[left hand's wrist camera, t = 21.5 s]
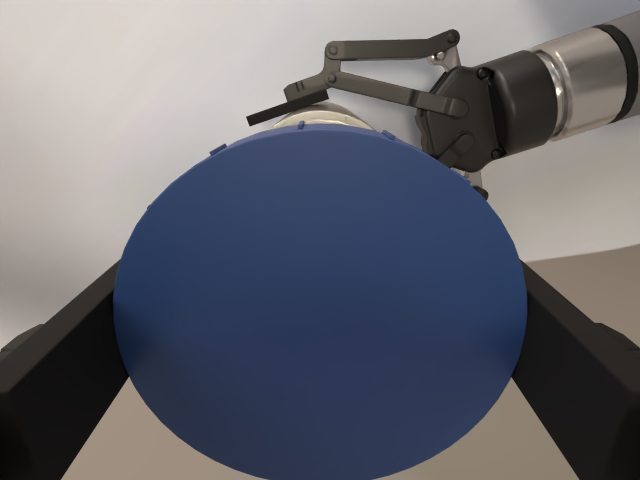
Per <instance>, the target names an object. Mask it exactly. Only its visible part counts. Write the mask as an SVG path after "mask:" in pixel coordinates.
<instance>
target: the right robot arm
mask: <svg viewBox="0 0 640 480" xmlns="http://www.w3.org/2000/svg"><path fill="white" fill-rule="evenodd" d="M459 40H460V35H459V33H458V31H456V30H454V29H452V30H448V31H446V32H443V33H441V34H438V35H436V36H434V37H431V38H429V39H411V40H365V41H332V42H329V43H328V44H327V45H326V48H325V61H324V69H323V70H322V72H321V73H320V74H318V75H315V76H312V77H309V78H307V79H304V80H301V81H298V82H296V83H293V84H290V85H288V86H287V87H286V88H285V89H284V93H285V96H286V99H287V103H284V104H281V105H278V106H275V107H272V108H270V109H267V110H264V111H261V112H258V113H255V114H253V115H250V116H247V117H246V118H247V121H248V123H249V126H252V125H255V124H258V123H261V122H264V121H267V120H270V119H272V118H275V117H278V116H281V115H284V114H287V113H290V112H293V111H295V110H298V109H301V108H304V107H307V106H310V105H313V104H315V103H318V102H321V101H324V100H327V99H329V97H328V94H327V91H326V89H328V88H331V87H332V88H336V89H341V90H345V91H349V92H353V93H357V94H361V95H365V96H370V97H374V98H378V99H382V100H386V101H390V102H395V103H399V104H403V105H407V106H411V107H415V108H418V109H417V113H416V115H415V119H416V123H417V126H418V128H419V130H420V131H421V145H422V149H423V152H425V153H426V154H428V155H429V156H431V157H433V158H434V159H436V160H438V161H439V162H441V163H442V164H443V165H445V166H446V167H448V168H449V169H450V168H451V167H453V168H456V169H459V170H462V171H465V174H464V176H463V177H465V178H467V179H468V180H469V181H470V182H471V183H470V185H471V186H472V187H473V188H474V189H475V190H476V191H477V192H478V193H479V194H480V195H481V196H482V197H484V199H485V200H487V199H488V192H487V191H486V190H484V189H483V188H482V181H481V173H480V170H481V169H482V168H483V167H484V166H486V165H487V164H488V163H489V162H491V161H493V160H496V159H500V158H503V157H506V156H509V155H513V154H516V153H519V152H522V151H525V150H528V149H532V148H535V147H538V146H541V145H543V144H545V143H546V142H547V141H548V140H549V141H558V140H561V139H564V138H567V137H570V136H573V135H576V134H579V133H582V132H585V131H588V130H591V129H594V128H597V127H600V126H603V125H606V124H610V123H613V122H617V121H619V120H622V119H626V118H629V117H632V116H636V115H639V114H640V10H639V11H637V12H634V13H631V14H628V15H626V16H623V17H620V18H618V19H615V20H612V21H609V22H607V23H604V24H601V25H596V26H593V27H589V28H586V29H583V30H581V31H578V32H575V33H572V34H569V35H566V36H563V37H560V38H557V39H554V40H551V41H548V42H545V43H542V44H539V45H537V46H535V47H533V48H532V49H531V50H530V51H526V50H522V51H519V52H516V53H513V54H510V55H507V56H504V57H501V58H499V59H496V60H493V61H490V62H487V63H484V64H481V65H478V66H475V67H465V66H461V63H460V59H459V55H458V51H457V46H456V45H457V44H458V43H459ZM425 57H427V60H428V62H429V63H430V64H431V65H441V66H442V67H443V68H444V70H445V72H444V73H443V74H442V76H441V77H440V78H439V80H438V81H437V82H436V83H435V85H434V86H433V87H432V89H431V90H430V91H429V93H428V92H424V91H420V90H415V89H410V88H406V87H402V86H398V85H394V84H390V83H386V82H381V81H377V80H373V79H369V78H365V77H361V76H357V75H353V74H349V73H345V72H341V71H340V62H341V61H374V60H414V59H421V58H425Z"/></svg>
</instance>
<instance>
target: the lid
mask: <svg viewBox="0 0 640 480" xmlns="http://www.w3.org/2000/svg"><path fill="white" fill-rule="evenodd" d="M210 154H211V156H209V157H208V158H206V159H205V160H203V161H201V162H200V163H198V164H196V165H195V166H193V167H192V168H191V169H189V170H188V171H187V172H186V173H184V174H183V175H182V176H180V177H179V178H178V179H176V180H175V181H174V182H172V183H171V184H170V185H169V186H168V187H167V188H166V189H165V190H164V191H163V192H162V193H161V194H160V195H159V196H158V197H157V198H156V199H155V201H154V202H153V203H152V204H150V205H149V206H148V207H147V211H146V212H145V213H144V215H143V216H142V218H141V219H140V220H139V222H138V223H137V225H136V226H135V228H134V230H133V232H132V234H131V236H130V238H129V240H128V242H127V244H126V246H125V248H124V251H123V254H122V258H121V261H120V264H119V267H118V270H117V274H116V281H115V288H114V295H113V322H114V328H115V333H116V338H117V343H118V347H119V351H120V354H121V358H122V361H123V364H124V366H125V368H126V371H127V373H128V375H129V377H130V379H131V381H132V383H133V385H134V387H135V388H136V390H137V391H138V393H139V394H140V396H141V397H142V399H143V400H144V402H145V403H146V405H147V406H148V407H149V408H150V409H151V411H152V412H153V413H154V414H155V415H156V416H157V417H158V419H159V420H160V421H161V422H162V423H163V424H164V425H165V426H166V427H167V428H169V429H170V430H171V431H172V432H173V433H174V434H175V435H176V436H177V437H179V438H180V439H181V440H183V441H184V442H186V443H187V444H188V445H190V446H191V447H193V448H194V449H195V450H197V451H199V452H200V453H202V454H204V455H206V456H207V457H209V458H211V459H213V460H214V461H216V462H219V463H221V464H223V465H225V466H228V467H230V468H232V469H235V470H237V471H240V472H243V473H246V474H249V475H252V476H255V477H259V478H264V479H268V480H373V479H377V478H381V477H385V476H389V475H392V474H395V473H397V472H400V471H403V470H406V469H409V468H411V467H413V466H415V465H417V464H420V463H422V462H424V461H426V460H428V459H430V458H432V457H434V456H435V455H437V454H438V453H440V452H442V451H443V450H445V449H447V448H448V447H450V446H451V445H453V444H454V443H455V442H456V441H458V440H459V439H460V438H462V437H463V436H464V435H465V434H467V433H468V432H469V431H470V430H471V429H472V428H473V427H474V426H475V425H476V424H477V423H478V422H479V421H480V420H481V419H482V418H483V417H484V416H485V415H486V414H487V412H488V411H489V410H490V409H491V408H492V406H493V405H494V404H495V403H496V401H497V400H498V399H499V397H500V395H501V394H502V392H503V390H504V389H505V387H506V386H507V384H508V382H509V381H510V378H511V376H512V374H513V372H514V369H515V367H516V365H517V362H518V360H519V357H520V353H521V349H522V345H523V340H524V336H525V331H526V324H527V315H528V312H527V289H526V284H525V279H524V274H523V268H522V265H521V262H520V259H519V256H518V254H517V251H516V248H515V245H514V243H513V241H512V239H511V237H510V235H509V234H508V232H507V230H506V228H505V226H504V225H503V223H502V221H501V219H500V218H499V217H498V215H497V214H496V213H495V212H494V210H493V209H492V208H491V206H490V205H489V204H488V203H487V201H486V200H485V199H484V197H482V196H481V195H480V194H479V193H478V192H477V191H476V190H475V189H474V188H473V187H472V186H471V185H470V183H471V182H470V181H469V180H468V179H467V178H465V177H463V176H462V175H460V174H458V173H457V172H455V171H454V170H451V169H449V168H448V167H446V166H445V165H443V164H442V163H441V162H439V161H438V160H436V159H434V158H433V157H431V156H429V155H428V154H426V153H424V152H423V151H421V150H419V149H417V148H415V147H413V146H411V145H409V144H407V143H405V142H403V141H401V140H399V139H397V138H395V136H394V135H392V134H391V133H389V132H388V131H385V130H383V132H382V133H380V132H377V131H374V130H371V129H366V128H360V127H355V126H350V125H344V124H325V123H312V124H305V122H304V121H300V122H299V124H298V125H289V126H284V127H280V128H276V129H271V130H267V131H262V132H260V133H257V134H254V135H252V136H249V137H246V138H244V139H241V140H239V141H236V142H234V143H233V144H231V145H229V146H226V144H223V145H221V146H220V147H218V148H216V149H214V150H213V151H211V152H210Z"/></svg>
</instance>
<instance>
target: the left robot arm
mask: <svg viewBox="0 0 640 480" xmlns="http://www.w3.org/2000/svg"><path fill="white" fill-rule="evenodd" d="M120 261H121V259H120V260H119V261H118V262H117V263H115V264H114V265H113V266H112V267H111V268H110V269H108V270H107V271H106V272H105V273H104V274H102V275H101V276H100V277H99V278H98V279H97V280H95V281H94V282H93V283H92V284H91V285H90V286H88V287H87V288H86V289H85V290H84V291H83V292H81V293H80V294H79V295H78V296H77V297H76V298H74V299H73V300H72V301H71V302H70V303H68V304H67V305H66V306H65V307H64V308H63V309H61V310H60V311H59V312H58V313H57V314H56V315H54V316H53V317H52V318H51V319H50V320H49V321H47V322H46V323H45V324H39V325H37V326H35V327H33V328H32V329H30V330H28V331H26V332H24V333H22V334H20V335H18V336H17V337H15V338H14V339H13V340H12V341H11V342H9V343H8V344H7V345H6V346H4V347H3V348H2V349H1V352H0V480H61V478H62V477H63V475H64V474H65V472H66V471H67V469H68V468H69V466H70V465H71V463H72V462H73V460H74V459H75V457H76V456H77V454H78V453H79V451H80V450H81V448H82V447H83V445H84V444H85V442H86V441H87V439H88V438H89V436H90V435H91V433H92V432H93V430H94V429H95V427H96V426H97V424H98V423H99V421H100V420H101V418H102V417H103V415H104V414H105V412H106V411H107V409H108V408H109V406H110V405H111V403H112V401H113V400H114V399H115V397H116V396H117V394H118V393H119V391H120V389H121V388H122V386H123V385H124V383H125V382H126V380H127V379H128V377H129V375H128V373H127V371H126V368H125V366H124V364H123V361H122V358H121V354H120V351H119V347H118V343H117V338H116V333H115V328H114V322H113V295H114V288H115V281H116V274H117V270H118V267H119V264H120ZM520 262H521V265H522V268H523V274H524V279H525V284H526V289H527V312H528V315H527V324H526V331H525V336H524V340H523V345H522V349H521V353H520V357H519V360H518V362H517V365H516V367H515V369H514V372H513V374H512V376H511V377H512V378H513V380H514V381H515V383H516V384H517V386H518V387H519V389H520V391H521V392H522V394H523V395H524V397H525V398H526V400H527V401H528V403H529V404H530V406H531V407H532V409H533V410H534V412H535V413H536V415H537V416H538V418H539V419H540V421H541V422H542V424H543V425H544V427H545V428H546V430H547V431H548V433H549V434H550V436H551V437H552V439H553V440H554V442H555V443H556V445H557V446H558V448H559V449H560V451H561V452H562V454H563V455H564V457H565V458H566V460H567V461H568V463H569V464H570V466H571V467H572V469H573V470H574V472H575V473H576V475H577V477H578V478H579V480H640V348H639V347H638V346H637V345H636V344H634V343H633V342H632V341H631V340H629V339H628V338H627V337H626V336H625V335H623V334H621V333H619V332H618V331H616V330H614V329H612V328H610V327H608V326H606V325H604V324H602V323H594V322H593V321H592V320H591V319H589V318H588V317H587V316H586V315H585V314H584V313H582V312H581V311H580V310H579V309H578V308H576V307H575V306H574V305H573V304H572V303H571V302H569V301H568V300H567V299H566V298H565V297H564V296H562V295H561V294H560V293H559V292H558V291H557V290H555V289H554V288H553V287H552V286H551V285H549V284H548V283H547V282H546V281H545V280H544V279H542V278H541V277H540V276H539V275H538V274H537V273H535V272H534V271H533V270H532V269H531V268H530V267H528V266H527V265H526V264H525V263H524V262H523V261H521V260H520Z"/></svg>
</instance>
